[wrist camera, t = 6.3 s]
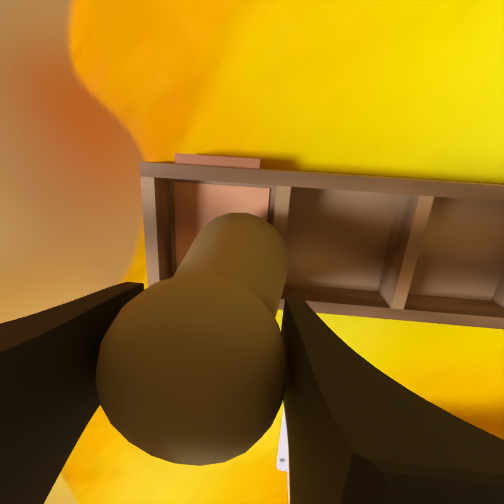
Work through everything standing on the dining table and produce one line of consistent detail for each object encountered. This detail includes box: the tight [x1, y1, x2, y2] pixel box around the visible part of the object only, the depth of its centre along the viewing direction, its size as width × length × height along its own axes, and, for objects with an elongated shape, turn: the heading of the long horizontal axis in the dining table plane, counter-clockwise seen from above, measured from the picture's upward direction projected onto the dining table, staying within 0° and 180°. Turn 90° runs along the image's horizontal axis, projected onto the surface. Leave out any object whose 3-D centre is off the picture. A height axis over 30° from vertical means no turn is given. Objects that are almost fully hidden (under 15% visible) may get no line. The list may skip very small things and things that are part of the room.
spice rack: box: [140, 153, 504, 329], centre depth 18 cm, size 9×25×3 cm, turn 87°
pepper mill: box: [95, 213, 289, 466], centre depth 11 cm, size 6×6×11 cm
